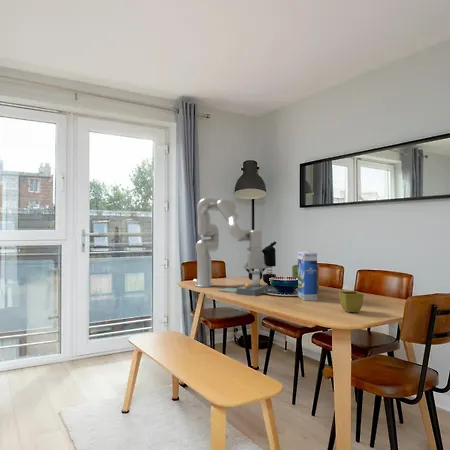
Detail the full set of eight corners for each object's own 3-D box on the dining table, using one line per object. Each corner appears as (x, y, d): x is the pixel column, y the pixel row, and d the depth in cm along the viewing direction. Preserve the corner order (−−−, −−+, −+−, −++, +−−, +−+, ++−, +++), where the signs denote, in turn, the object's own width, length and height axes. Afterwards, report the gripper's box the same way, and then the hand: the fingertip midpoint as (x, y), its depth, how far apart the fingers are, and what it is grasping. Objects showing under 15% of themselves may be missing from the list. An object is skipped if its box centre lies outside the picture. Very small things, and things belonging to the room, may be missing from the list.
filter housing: (236, 294, 228) (236, 288, 228) (251, 289, 244) (251, 284, 244) (254, 295, 222) (254, 289, 222) (268, 291, 238) (268, 285, 238)
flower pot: (338, 310, 184) (338, 291, 184) (356, 309, 184) (356, 290, 184) (345, 314, 175) (345, 294, 175) (364, 313, 176) (364, 294, 176)
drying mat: (218, 291, 239) (218, 290, 239) (228, 288, 249) (228, 287, 249) (234, 292, 232) (234, 291, 232) (244, 290, 243) (244, 289, 243)
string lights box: (297, 296, 220) (297, 251, 220) (310, 296, 220) (310, 251, 221) (304, 300, 207) (303, 252, 207) (318, 300, 207) (317, 252, 207)
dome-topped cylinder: (252, 287, 233) (252, 272, 233) (249, 285, 239) (249, 271, 239) (261, 286, 235) (261, 272, 235) (258, 285, 240) (258, 271, 240)
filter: (272, 284, 265) (271, 241, 265) (280, 286, 257) (279, 241, 257) (255, 285, 259) (255, 241, 259) (263, 287, 251) (262, 241, 251)
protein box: (317, 292, 233) (317, 266, 233) (292, 291, 238) (291, 266, 238) (319, 289, 242) (319, 265, 243) (294, 288, 247) (294, 264, 248)
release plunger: (244, 293, 228) (244, 284, 228) (247, 292, 231) (247, 283, 231) (249, 293, 226) (249, 284, 226) (252, 292, 229) (252, 283, 229)
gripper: (243, 250, 231) (243, 280, 231) (270, 250, 235) (270, 279, 235) (240, 249, 238) (240, 278, 238) (266, 249, 242) (266, 278, 242)
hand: (255, 278), depth 237 cm, fingers closed on dome-topped cylinder, 5 cm apart
